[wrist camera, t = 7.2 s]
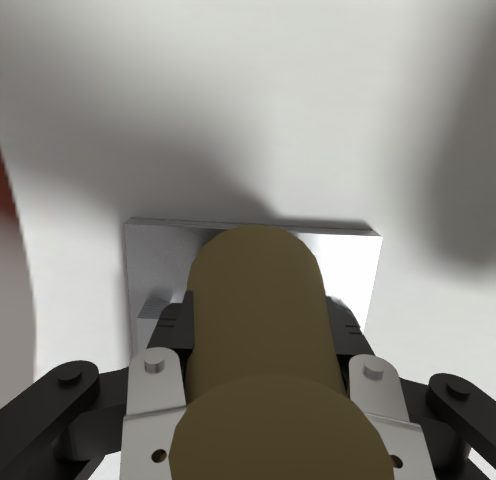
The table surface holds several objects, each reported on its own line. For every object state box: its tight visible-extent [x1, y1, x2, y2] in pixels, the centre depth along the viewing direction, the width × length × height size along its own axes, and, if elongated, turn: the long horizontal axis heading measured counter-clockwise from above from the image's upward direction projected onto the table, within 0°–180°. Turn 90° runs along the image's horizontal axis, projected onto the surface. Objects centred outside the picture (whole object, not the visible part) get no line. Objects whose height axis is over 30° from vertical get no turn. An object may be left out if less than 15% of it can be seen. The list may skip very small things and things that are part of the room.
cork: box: [157, 224, 399, 480], centre depth 10 cm, size 6×6×11 cm
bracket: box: [124, 218, 382, 357], centre depth 17 cm, size 14×12×5 cm
